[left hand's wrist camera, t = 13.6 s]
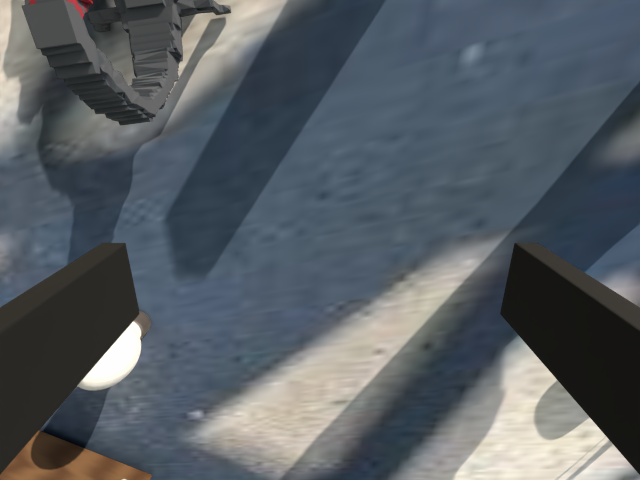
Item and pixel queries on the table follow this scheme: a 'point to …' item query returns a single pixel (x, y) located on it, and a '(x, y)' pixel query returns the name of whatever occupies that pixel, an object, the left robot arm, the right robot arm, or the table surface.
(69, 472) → the bar
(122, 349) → the light bulb
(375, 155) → the table surface
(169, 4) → the toy
